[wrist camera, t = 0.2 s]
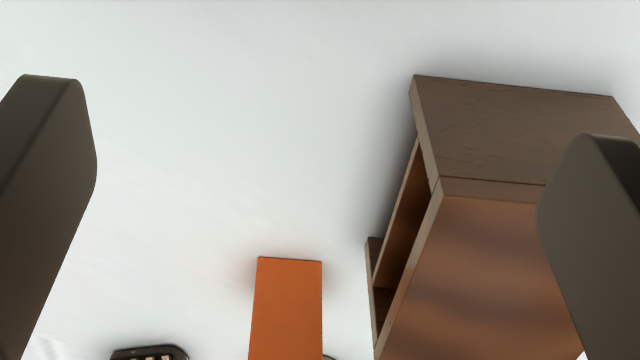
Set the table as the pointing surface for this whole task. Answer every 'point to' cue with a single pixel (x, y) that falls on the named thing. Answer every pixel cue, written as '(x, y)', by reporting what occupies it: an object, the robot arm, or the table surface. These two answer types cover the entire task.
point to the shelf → (478, 225)
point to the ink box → (287, 310)
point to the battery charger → (150, 354)
